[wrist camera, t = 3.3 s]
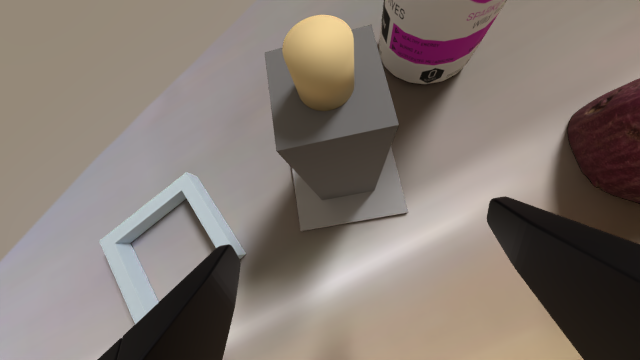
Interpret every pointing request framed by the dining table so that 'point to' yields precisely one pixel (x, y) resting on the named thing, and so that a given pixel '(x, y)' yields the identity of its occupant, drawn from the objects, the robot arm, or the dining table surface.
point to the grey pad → (351, 201)
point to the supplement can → (433, 36)
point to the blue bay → (119, 239)
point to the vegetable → (610, 141)
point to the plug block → (331, 106)
